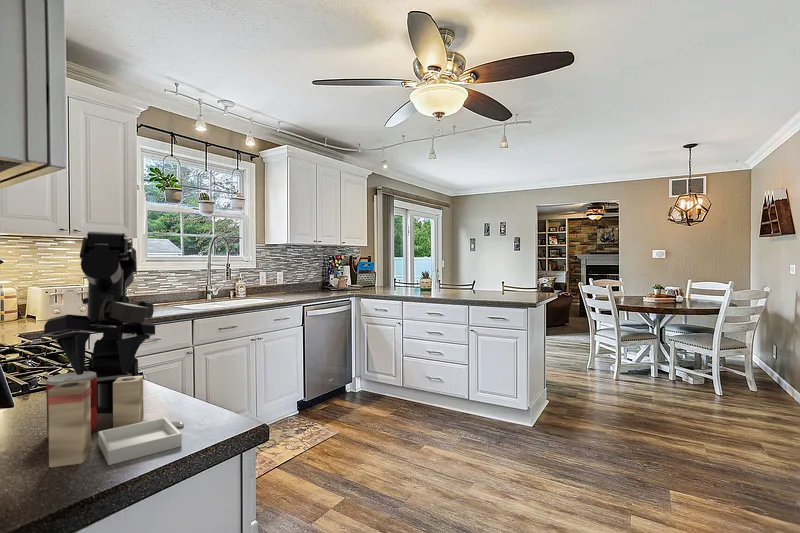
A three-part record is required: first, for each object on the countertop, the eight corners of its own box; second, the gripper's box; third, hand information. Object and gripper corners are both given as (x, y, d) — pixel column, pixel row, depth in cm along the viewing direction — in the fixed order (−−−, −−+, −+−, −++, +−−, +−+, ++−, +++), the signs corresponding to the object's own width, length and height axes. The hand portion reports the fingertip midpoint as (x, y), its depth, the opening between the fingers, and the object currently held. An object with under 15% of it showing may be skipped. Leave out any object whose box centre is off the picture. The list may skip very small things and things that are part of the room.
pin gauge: (141, 427, 88) (141, 421, 88) (145, 425, 89) (145, 419, 89) (181, 429, 87) (181, 423, 87) (185, 427, 88) (185, 421, 88)
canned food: (38, 443, 80) (37, 383, 80) (59, 427, 87) (59, 372, 87) (86, 438, 82) (86, 380, 82) (103, 423, 89) (103, 369, 89)
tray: (98, 444, 79) (98, 431, 79) (165, 428, 86) (165, 417, 86) (108, 465, 71) (108, 451, 71) (181, 446, 78) (181, 433, 78)
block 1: (59, 456, 74) (58, 382, 74) (91, 451, 76) (90, 379, 76) (48, 467, 70) (48, 389, 70) (82, 463, 72) (81, 386, 72)
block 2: (118, 420, 91) (118, 377, 91) (143, 417, 93) (143, 375, 93) (113, 428, 87) (112, 382, 87) (139, 425, 88) (138, 380, 88)
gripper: (92, 276, 75) (89, 368, 71) (176, 291, 93) (177, 366, 89) (44, 288, 78) (39, 378, 74) (134, 301, 95) (133, 374, 92)
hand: (104, 373), depth 82 cm, fingers open, 9 cm apart
